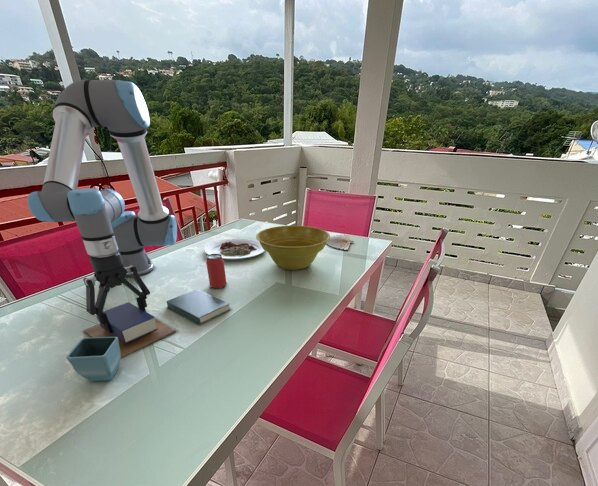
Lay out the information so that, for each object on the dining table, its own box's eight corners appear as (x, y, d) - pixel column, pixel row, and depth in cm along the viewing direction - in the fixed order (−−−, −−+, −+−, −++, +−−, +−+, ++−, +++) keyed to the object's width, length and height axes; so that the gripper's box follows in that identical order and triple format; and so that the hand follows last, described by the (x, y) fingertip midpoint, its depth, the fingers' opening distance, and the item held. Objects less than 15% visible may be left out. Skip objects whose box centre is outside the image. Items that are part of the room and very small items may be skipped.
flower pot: (94, 365, 89) (82, 337, 83) (128, 363, 89) (118, 336, 84) (79, 387, 81) (64, 357, 76) (116, 385, 82) (104, 356, 77)
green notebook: (167, 307, 116) (166, 301, 114) (198, 295, 124) (197, 289, 122) (199, 324, 107) (198, 317, 105) (230, 309, 115) (229, 303, 113)
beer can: (223, 289, 128) (219, 259, 121) (207, 288, 129) (202, 258, 122) (229, 283, 133) (225, 253, 126) (214, 281, 134) (209, 252, 127)
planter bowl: (244, 271, 143) (242, 240, 136) (276, 249, 168) (275, 221, 160) (314, 283, 134) (315, 251, 126) (337, 258, 158) (339, 229, 150)
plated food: (248, 266, 149) (248, 258, 147) (192, 257, 157) (191, 250, 155) (275, 246, 172) (275, 239, 170) (225, 239, 180) (224, 233, 178)
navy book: (100, 326, 102) (95, 314, 100) (132, 314, 109) (128, 301, 106) (125, 344, 95) (120, 330, 92) (158, 329, 101) (154, 316, 99)
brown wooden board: (84, 331, 102) (83, 329, 102) (138, 310, 114) (138, 308, 114) (119, 358, 91) (119, 356, 91) (176, 331, 103) (175, 330, 102)
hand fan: (352, 235, 189) (325, 234, 189) (352, 234, 188) (325, 233, 189) (355, 250, 167) (325, 249, 168) (355, 249, 167) (325, 248, 167)
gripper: (63, 268, 79) (95, 344, 92) (151, 245, 94) (167, 314, 106) (50, 261, 83) (83, 335, 96) (137, 240, 98) (155, 307, 110)
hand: (127, 324), depth 101 cm, fingers closed on navy book, 10 cm apart
